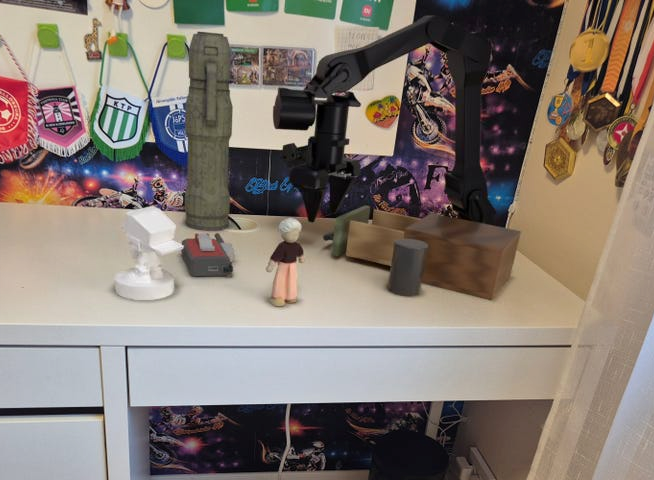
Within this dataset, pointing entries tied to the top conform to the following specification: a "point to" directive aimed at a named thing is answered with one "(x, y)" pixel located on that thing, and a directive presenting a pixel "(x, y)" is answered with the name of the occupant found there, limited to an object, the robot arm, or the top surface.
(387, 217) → the drawer
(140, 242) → the character figurine
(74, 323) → the top surface
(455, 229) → the cabinet
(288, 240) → the grandmother figurine
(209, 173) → the thermos
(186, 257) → the walkie-talkie
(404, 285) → the cup
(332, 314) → the top surface
